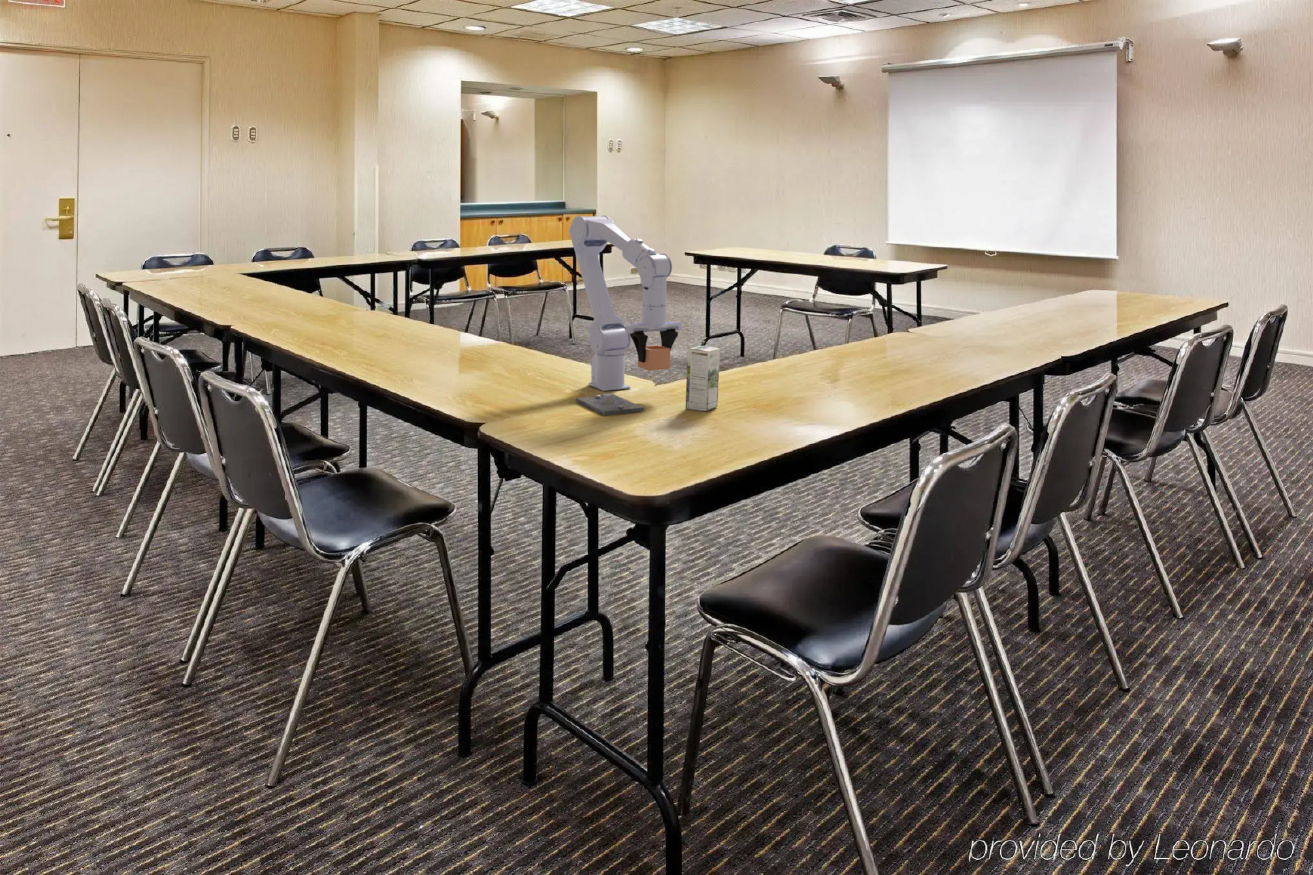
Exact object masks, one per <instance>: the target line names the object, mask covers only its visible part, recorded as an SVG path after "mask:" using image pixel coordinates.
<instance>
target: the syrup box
mask: <svg viewBox="0 0 1313 875" xmlns="http://www.w3.org/2000/svg"><path fill="white" fill-rule="evenodd" d="M720 354H721V349H720V348H719V347H714V346H710V345H698V346H695V347H692V348H688V349H687V358H686V359H687V360H686V361H687V362H686V383H685V384H686V385H685V386H686V387H685V388H686V390H685V409H686V410H692V411H698V412H709V411H711V410H714V409H716V408H718V399H719V381H720V377H719V376H720Z"/></svg>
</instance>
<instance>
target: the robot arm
mask: <svg viewBox="0 0 1313 875" xmlns="http://www.w3.org/2000/svg"><path fill="white" fill-rule="evenodd" d="M568 232H569V236H570V239H571V243H572V246H573V249H574V250H573V251H574V252H575V253H574V254H575V258H576V260H577V264H578V268H579V273H580V275H581V279H582V281H583V285H584V289H585V292H586V295H587V300H588V302H589V306H590V308H591V309H590V310H591V313H592V317H593V321H592V322H591V323H590V324H589V326H588V328H587V330H588V333H589V334H588V335H589V339H588V340H589V346H590V348H591V350H592V351H593V356H592V358H591V361H590V366H591V367H590V369H591V370H590V372H591V373H590V375H591V378H590V379H591V380H590V382H588V383H587V385H588V386H591V387H593V388H595V389H598V390H599V391H602V392H605V391H606V392H607V391H617V390H626V389H631V385H627V384H625V354H627V352H628V351H627V350H628V349H629V348H630V347H631V344H632V342H633V344H634V346H635V350H636V353H637V359H638V358H639V361H640V362H645V359H646V346H647V342H648V340H649V339H648V338H649V336H648V335H647V334H645V333H649V332H659V335H660V342H661V344H660V345H661V346H664V347H667V348H670V352H671V351H672V347H673V346H674V343H675V341H676V339H677V337H678V336H679V332H678V331H682V328H683V323H682V322H683V321H667V279H668V278H669V277H670V275H672V270H673V264H672V261H671V258H670V257H669V256H668V254H666V253H660V254H659V253H657V252H656V251H655V249H654V248H650V247H649V246H648V245H646V244H645V243H644V240H643V239H642V238H630V237H628V236H627V234H625V233H624V232H623V231H622V230H621V229H620V228H619V227H618V226H616V223H615V220H614V219H612V218H610V217H609V216H607V215H600V216H599V215H598V216H596V215H595V216H581V215H577V216H575V217H574V218H573V219H572V221H571V223H570V227H569V230H568ZM608 243H610V244H611V245H612V246H613V247H616V249H618V250H620V251H621V252H622V257H623V259H624V260H626V261H627V262H629V264H631V265H632V266H633V267H635V269H637V273H638V275H639V277H640V284H641V287H642V308H641V309H642V312H641V313H642V321H641V322H638V323H637V322H636V323H629V324H626V323H625V319H623V318H622V317H620V316H619V315H617V314H616V313H615V310H614V307H613V304H612V299H611V296H610V294H609V289H608V287H607V283H606V281H605V280H606V279H605V277H604V273H603V269H602V267H601V263H600V260H599V255H600V253H601V252H602V251H603V250H604V249H605V248H606V246H607V244H608Z"/></svg>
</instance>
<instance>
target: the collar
mask: <svg viewBox="0 0 1313 875" xmlns="http://www.w3.org/2000/svg"><path fill="white" fill-rule="evenodd" d="M637 367H638V368H641V369H644V370H646V371H649V372H650V371H659V370H662V371H663V370H670V369H671V351H670V348H667V347H664V346H662V344H653V345H646V359H645V362H640V361H639V358H638V357H637Z"/></svg>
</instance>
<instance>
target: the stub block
mask: <svg viewBox="0 0 1313 875" xmlns="http://www.w3.org/2000/svg"><path fill="white" fill-rule="evenodd" d="M575 402H576V403H578V404H580V405H582V406H584V407H586V408H588V409H589V410H592V411H594V412H596V413H598V414H600V415H602V416H604V417H608V416H614V415H615V414H617V415H625V414H632V413H634V414H635V413H642V412H643V411H644V410H645V409H644V407H643V406H642V405H639V404H637V403H635V402H632V401H630V400H628V399H625V398H623V397H621V396H619V395H616V394H614V393H611V392H609V393H603V395H601V394H595V395H593V396H592V395H591V396H584V397H583V396H582V397H576V398H575ZM615 416H616V415H615Z"/></svg>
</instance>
